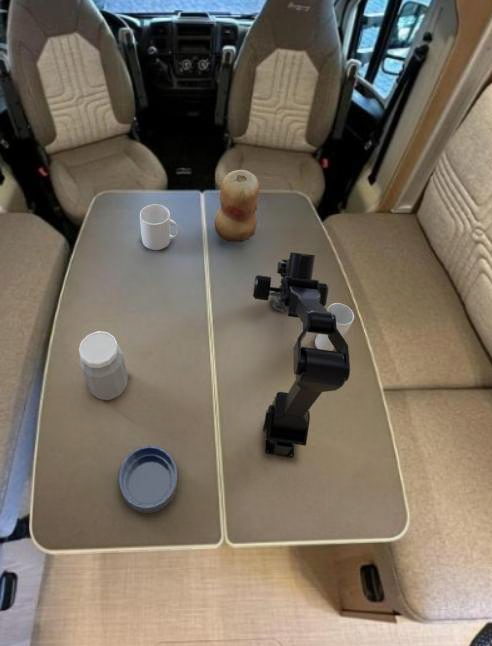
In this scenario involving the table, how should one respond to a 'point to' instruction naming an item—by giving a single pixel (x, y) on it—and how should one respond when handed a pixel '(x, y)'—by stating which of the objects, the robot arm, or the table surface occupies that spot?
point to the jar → (103, 365)
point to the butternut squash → (237, 207)
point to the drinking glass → (342, 322)
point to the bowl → (148, 479)
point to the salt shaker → (278, 303)
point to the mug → (156, 226)
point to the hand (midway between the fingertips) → (285, 287)
